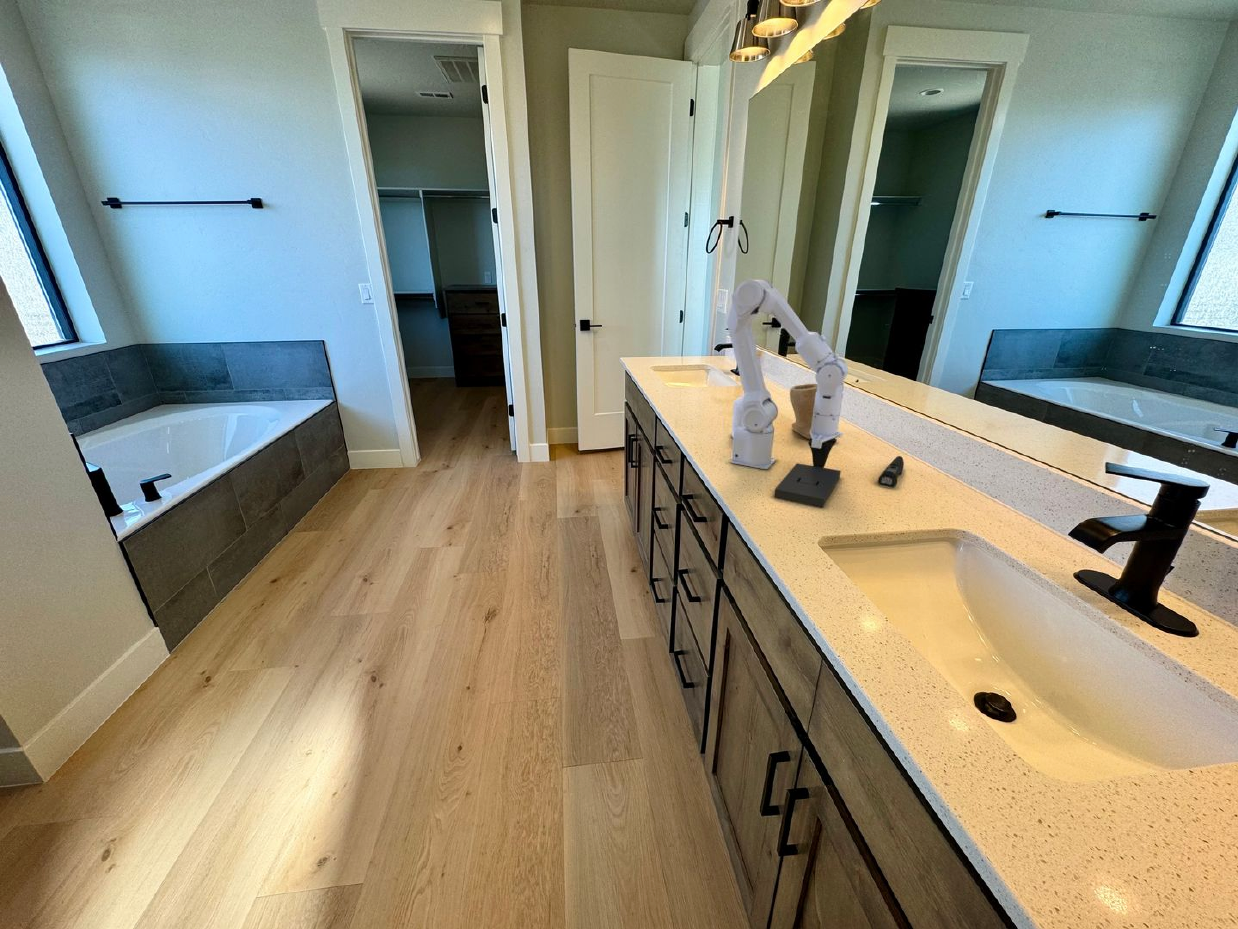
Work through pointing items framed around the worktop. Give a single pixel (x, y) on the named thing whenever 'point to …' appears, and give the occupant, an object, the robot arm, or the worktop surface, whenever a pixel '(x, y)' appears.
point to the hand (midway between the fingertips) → (818, 468)
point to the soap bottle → (738, 412)
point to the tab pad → (815, 474)
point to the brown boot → (803, 407)
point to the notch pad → (803, 492)
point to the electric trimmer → (891, 473)
